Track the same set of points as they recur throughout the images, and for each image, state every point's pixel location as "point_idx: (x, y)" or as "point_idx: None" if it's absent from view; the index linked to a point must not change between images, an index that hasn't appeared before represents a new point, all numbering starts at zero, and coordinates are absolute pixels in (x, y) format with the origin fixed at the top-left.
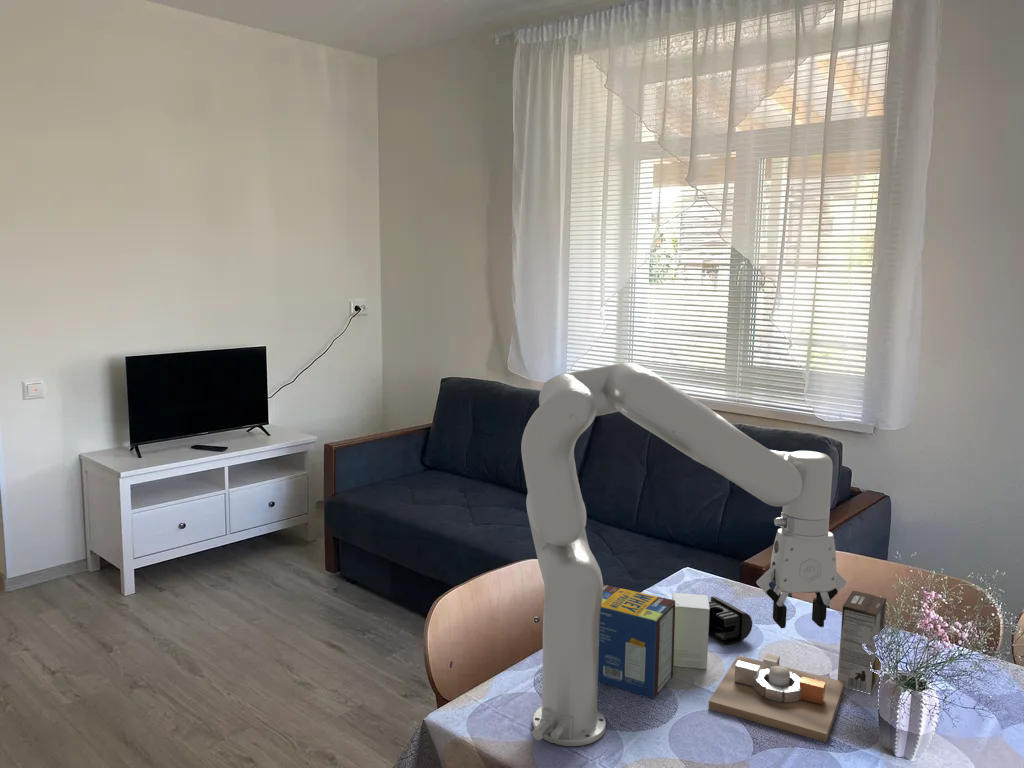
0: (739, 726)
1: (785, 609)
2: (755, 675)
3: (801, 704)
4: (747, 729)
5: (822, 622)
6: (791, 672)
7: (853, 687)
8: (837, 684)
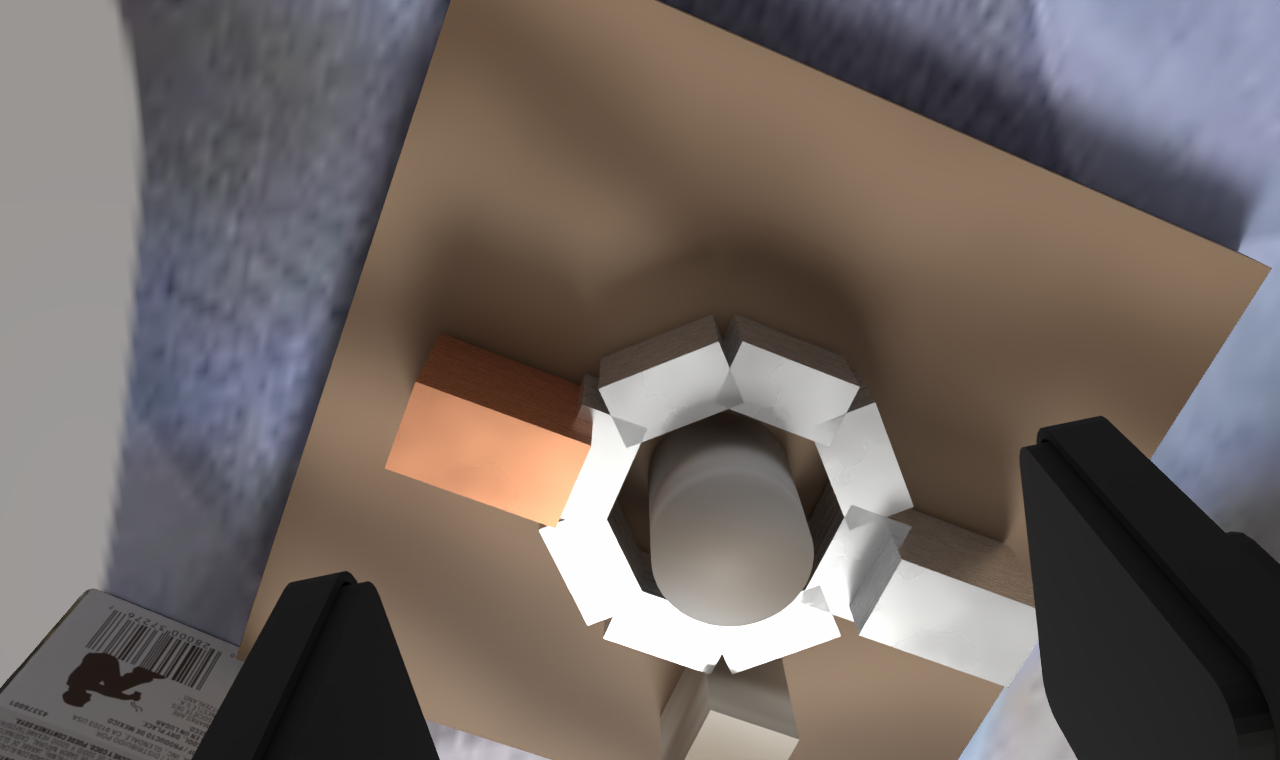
0: (1078, 48)
1: (1256, 641)
2: (900, 541)
3: (588, 324)
4: (1029, 15)
5: (295, 617)
6: (607, 633)
7: (188, 636)
8: None
